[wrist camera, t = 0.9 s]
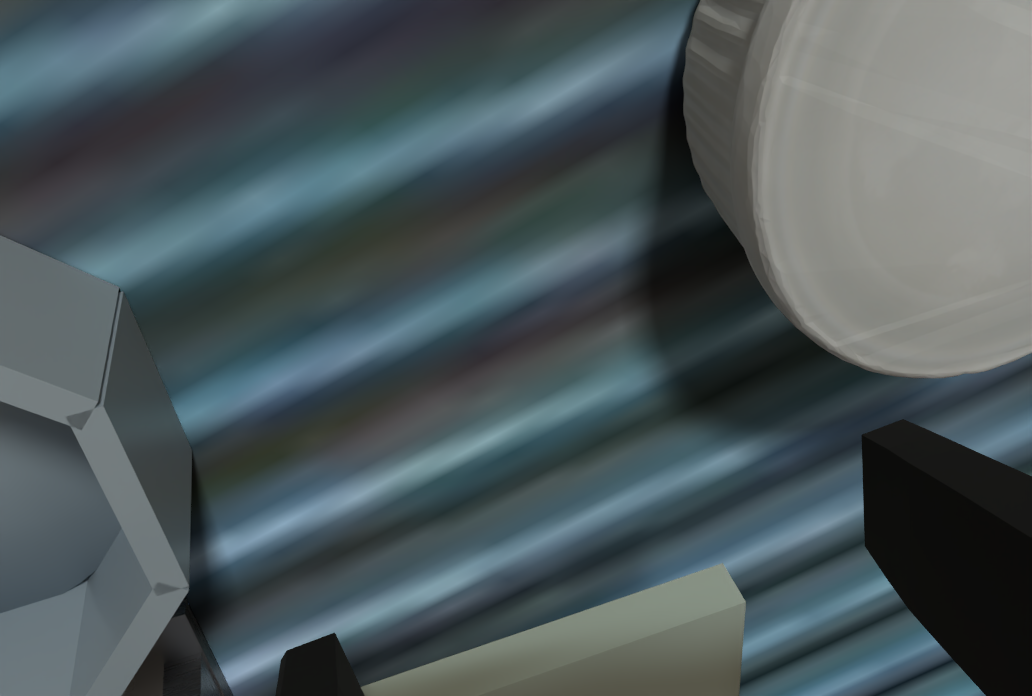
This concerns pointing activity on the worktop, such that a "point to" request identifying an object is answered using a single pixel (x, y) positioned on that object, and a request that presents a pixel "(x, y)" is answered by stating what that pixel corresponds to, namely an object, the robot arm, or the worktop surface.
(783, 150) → the ramekin
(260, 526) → the worktop surface
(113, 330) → the bowl
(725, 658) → the lever
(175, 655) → the fulcrum
